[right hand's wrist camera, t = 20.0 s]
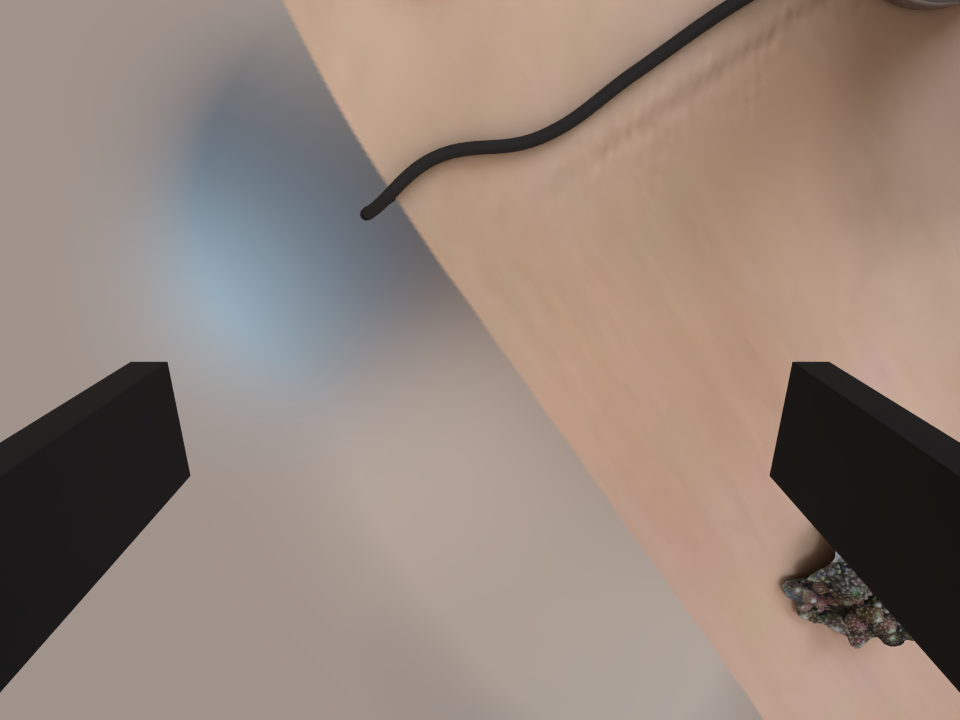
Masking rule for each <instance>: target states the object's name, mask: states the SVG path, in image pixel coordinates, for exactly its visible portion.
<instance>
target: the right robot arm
mask: <svg viewBox="0 0 960 720" xmlns="http://www.w3.org/2000/svg"><path fill="white" fill-rule="evenodd" d="M752 1H753V0H726V1H724V2H723V3H721V4H720V5H718V6H717V7H715V8H714V9H712V10H711V11H709V12H708V13H706V14H705V15H703V16H702V17H700V18H699V19H698V20H696V21H695V22H693V23H692V24H690V25H689V26H688V27H686V28H685V29H683V30H682V31H681V32H679V33H678V34H676V35H675V36H674V37H672V38H671V39H670V40H668V41H667V42H665V43H664V44H663V45H661V46H660V47H659V48H657V49H656V50H654V51H653V52H652V53H650V54H649V55H647V56H646V57H645V58H643V59H642V60H640V61H639V62H638V63H636V64H635V65H633V66H632V67H630V68H629V69H628V70H626V71H625V72H623V73H622V74H621V75H619V76H618V77H617V78H615V79H614V80H613V81H612V82H610V83H609V84H608V85H606V86H605V87H604V88H603V89H601V90H600V91H599V92H598V93H596V94H595V95H594V96H593V97H592V98H590V99H589V100H588V101H586V102H585V103H584V104H583V105H581V106H580V107H579V108H577V109H576V110H575V111H573V112H572V113H570V114H569V115H567V116H566V117H564V118H563V119H561V120H559V121H557V122H556V123H554V124H552V125H550V126H548V127H546V128H544V129H542V130H539V131H537V132H534V133H532V134H529V135H525V136H521V137H517V138H511V139H503V140H487V141H473V142H464V143H458V144H453V145H449V146H446V147H443V148H440V149H438V150H435V151H433V152H431V153H429V154H427V155H425V156H423V157H422V158H420V159H418V160H417V161H416V162H414V163H413V164H411V165H410V166H409V167H408V168H407V169H405V170H404V171H403V172H402V173H401V174H400V175H399V176H398V177H397V178H396V179H395V180H394V181H393V182H392V183H391V184H390V185H389V186H388V187H387V188H386V189H385V190H384V192H383V193H382V194H381V195H380V196H379V197H378V198H377V199H375V200H374V201H373V202H372V203H371V204H370V205H368V206H366V207H364V208H363V209H362V210H361V211H360V216H361V218H362V219H363V220H365V221H367V220H371V219H372V218H374V217H375V216H376V215H378V214H379V213H380V212H381V211H383V210H384V209H385V208H386V207H387V206H388V205H389V204H391V203H392V202H394V201H395V199H396V197H397V196H398V195H399V194H400V193H401V192H402V191H403V190H404V188H405V187H407V186H408V185H409V184H410V183H411V182H412V181H413V180H414V179H415V178H416V177H418V176H419V175H420V174H421V173H423V172H424V171H426V170H427V169H429V168H431V167H432V166H434V165H436V164H439V163H441V162H443V161H446V160H449V159H452V158H457V157H461V156H468V155H479V154H496V153H508V152H515V151H520V150H525V149H529V148H532V147H535V146H538V145H541V144H543V143H545V142H548V141H550V140H552V139H554V138H556V137H558V136H560V135H562V134H563V133H565V132H567V131H569V130H570V129H572V128H573V127H575V126H576V125H578V124H579V123H581V122H582V121H584V120H585V119H586V118H588V117H589V116H590V115H592V114H593V113H594V112H596V111H597V110H598V109H599V108H601V107H602V106H603V105H604V104H606V103H607V102H608V101H609V100H611V99H612V98H613V97H614V96H616V95H617V94H618V93H620V92H621V91H622V90H623V89H625V88H626V87H627V86H629V85H630V84H632V83H633V82H634V81H636V80H637V79H639V78H640V77H642V76H643V75H644V74H646V73H647V72H649V71H650V70H652V69H653V68H654V67H656V66H657V65H659V64H660V63H661V62H663V61H664V60H666V59H667V58H668V57H670V56H671V55H673V54H674V53H675V52H677V51H678V50H680V49H681V48H682V47H684V46H685V45H686V44H688V43H689V42H691V41H692V40H694V39H695V38H696V37H698V36H699V35H701V34H702V33H703V32H705V31H706V30H708V29H709V28H711V27H712V26H714V25H715V24H717V23H718V22H720V21H721V20H723V19H724V18H726V17H727V16H729V15H731V14H732V13H734V12H735V11H737V10H738V9H740V8H742V7H743V6H745V5H747V4H748V3H750V2H752ZM886 1H888V2H890V3H892V4H895V5H898V6H901V7H905V8H910V9H920V10H928V9H939V8H945V7H949V6H953V5H957V4H960V0H886ZM189 477H190V471H189V467H188V462H187V457H186V452H185V447H184V442H183V437H182V432H181V427H180V422H179V417H178V412H177V407H176V402H175V397H174V392H173V387H172V382H171V378H170V372H169V367H168V363H167V362H130V363H128V364H127V365H125V366H123V367H122V368H120V369H119V370H117V371H115V372H114V373H112V374H110V375H109V376H107V377H106V378H104V379H102V380H101V381H99V382H98V383H96V384H94V385H93V386H91V387H89V388H88V389H86V390H85V391H83V392H81V393H80V394H78V395H76V396H75V397H73V398H72V399H70V400H68V401H67V402H65V403H64V404H62V405H60V406H59V407H57V408H56V409H54V410H52V411H51V412H49V413H47V414H46V415H44V416H43V417H41V418H39V419H38V420H36V421H34V422H33V423H31V424H30V425H28V426H26V427H25V428H23V429H22V430H20V431H18V432H17V433H15V434H13V435H12V436H10V437H9V438H7V439H5V440H4V441H2V442H0V692H1V691H2V690H3V689H4V687H5V686H6V685H7V684H8V683H9V682H10V681H11V679H12V678H13V677H14V676H15V675H16V674H17V673H18V672H19V670H20V669H21V668H22V667H23V666H24V665H25V664H26V662H27V661H28V660H29V659H30V658H31V657H32V656H33V654H34V653H35V652H36V651H37V650H38V649H39V648H40V646H41V645H42V644H43V643H44V642H45V641H46V640H47V638H48V637H49V636H50V635H51V634H52V633H53V632H54V630H55V629H56V628H57V627H58V626H59V625H60V624H61V623H62V621H63V620H64V619H65V618H66V617H67V616H68V615H69V613H70V612H71V611H72V610H73V609H74V608H75V607H76V605H77V604H78V603H79V602H80V601H81V600H82V599H83V597H84V596H85V595H86V594H87V593H88V592H89V591H90V589H91V588H92V587H93V586H94V585H95V584H96V583H97V581H98V580H99V579H100V578H101V577H102V576H103V575H104V574H105V572H106V571H107V570H108V569H109V568H110V567H111V566H112V564H113V563H114V562H115V561H116V560H117V559H118V558H119V556H120V555H121V554H122V553H123V552H124V551H125V550H126V548H127V547H128V546H129V545H130V544H131V543H132V542H133V540H134V539H135V538H136V537H137V536H138V535H139V534H140V532H141V531H142V530H143V529H144V528H145V527H146V526H147V525H148V523H149V522H150V521H151V520H152V519H153V518H154V517H155V515H156V514H157V513H158V512H159V511H160V510H161V509H162V508H163V506H164V505H165V504H166V503H167V502H168V501H169V500H170V498H171V497H172V496H173V495H174V494H175V493H176V492H177V490H178V489H179V488H180V487H181V486H182V485H183V484H184V482H185V481H186V480H187V479H188V478H189ZM770 477H771V478H772V479H773V480H774V481H775V482H776V484H777V485H778V486H779V487H780V488H781V489H782V490H783V492H784V493H785V494H786V495H787V496H788V497H789V498H790V500H791V501H792V502H793V503H794V504H795V505H796V506H797V508H798V509H799V510H800V511H801V512H802V513H803V514H804V515H805V517H806V518H807V519H808V520H809V521H810V522H811V523H812V525H813V526H814V527H815V528H816V529H817V530H818V531H819V533H820V534H821V535H822V536H823V537H824V538H825V539H826V541H827V542H828V543H829V544H830V545H831V546H832V547H833V549H834V550H835V551H836V552H837V553H838V554H839V555H840V556H841V558H842V559H843V560H844V561H845V562H846V563H847V564H848V566H849V567H850V568H851V569H852V570H853V571H854V572H855V574H856V575H857V576H858V577H859V578H860V579H861V580H862V582H863V583H864V584H865V585H866V586H867V587H868V588H869V590H870V591H871V592H872V593H873V594H874V595H875V596H876V597H877V599H878V600H879V601H880V602H881V603H882V604H883V605H884V607H885V608H886V609H887V610H888V611H889V612H890V613H891V615H892V616H893V617H894V618H895V619H896V620H897V621H898V623H899V624H900V625H901V626H902V627H903V628H904V629H905V631H906V632H907V633H908V634H909V635H910V636H911V637H912V638H913V640H914V641H915V642H916V643H917V644H918V645H919V646H920V648H921V649H922V650H923V651H924V652H925V653H926V654H927V656H928V657H929V658H930V659H931V660H932V661H933V662H934V664H935V665H936V666H937V667H938V668H939V669H940V670H941V672H942V673H943V674H944V675H945V676H946V677H947V678H948V679H949V681H950V682H951V683H952V684H953V685H954V686H955V687H956V689H957V690H958V691H959V692H960V442H958V441H956V440H955V439H953V438H951V437H950V436H948V435H947V434H945V433H943V432H942V431H940V430H938V429H937V428H935V427H934V426H932V425H930V424H929V423H927V422H926V421H924V420H922V419H921V418H919V417H917V416H916V415H914V414H913V413H911V412H909V411H908V410H906V409H905V408H903V407H901V406H900V405H898V404H896V403H895V402H893V401H892V400H890V399H888V398H887V397H885V396H884V395H882V394H880V393H879V392H877V391H875V390H874V389H872V388H871V387H869V386H867V385H866V384H864V383H862V382H861V381H859V380H858V379H856V378H854V377H853V376H851V375H850V374H848V373H846V372H845V371H843V370H841V369H840V368H838V367H837V366H835V365H833V364H832V363H830V362H793V363H792V367H791V372H790V377H789V382H788V387H787V392H786V397H785V402H784V407H783V412H782V417H781V422H780V427H779V432H778V437H777V442H776V447H775V452H774V457H773V462H772V467H771V471H770Z"/></svg>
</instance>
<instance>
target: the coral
mask: <svg viewBox="0 0 960 720" xmlns="http://www.w3.org/2000/svg"><path fill="white" fill-rule="evenodd" d="M808 577H809V578H807V579H804V578H802V579H793V580H789V581H786V582H785V583H784V584H783V586H782V588H783V589H784V592H785V594H786V595H787V597H789V598H791V599H792V600H794V601H796V602H797V603H798V604H797V613H798V615H799V616H801V617H802V618H804V619H806V620H809V621H812V622H813V623H821V624H826V625H827V626H828V627H829V628H831V629H832V630H834V631H837V632H839V633H840V634H843V635H845V636H847V637H848V640H849V643H850V644H851V645H852V646H853V647H854V648H861V647H862V646H863V645H864V644H865V643H866V642H867V641H868V640H869V639H870V638H872V637H878V638H879V639H881V641H882V642H883V643H884V644H886V645H888V646H899V645H902V644H903V643H904V641H905V640H911V641H914V640H913V638H912V637H911V636H910V635H909V634H908V633H907V632H906V631H905V629H904V628H903V627H902V626H901V625H900V624H899V623H898V621H897V620H896V619H895V618H894V617H893V616H892V615H891V613H890V612H889V611H888V610H887V609H886V608H885V607H884V605H883V604H882V603H881V602H880V601H879V600H878V599H877V597H876V596H875V595H874V594H873V593H872V592H871V591H870V590H869V588H868V587H867V586H866V585H865V584H864V583H863V582H862V580H861V579H860V578H859V577H858V576H857V575H856V574H855V572H854V571H853V570H852V569H851V568H850V567H849V566H848V564H847V563H846V562H845V561H844V560H843V559H842V558H841V556H840V555H839V554H838V553H837V552H835V559H834V560H833V561H832V562H831V564H830V565H827V566H826V567H824V568H822V569H820V570H817V571H816V572H814V573H813V574H812V575H810V576H808Z"/></svg>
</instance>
